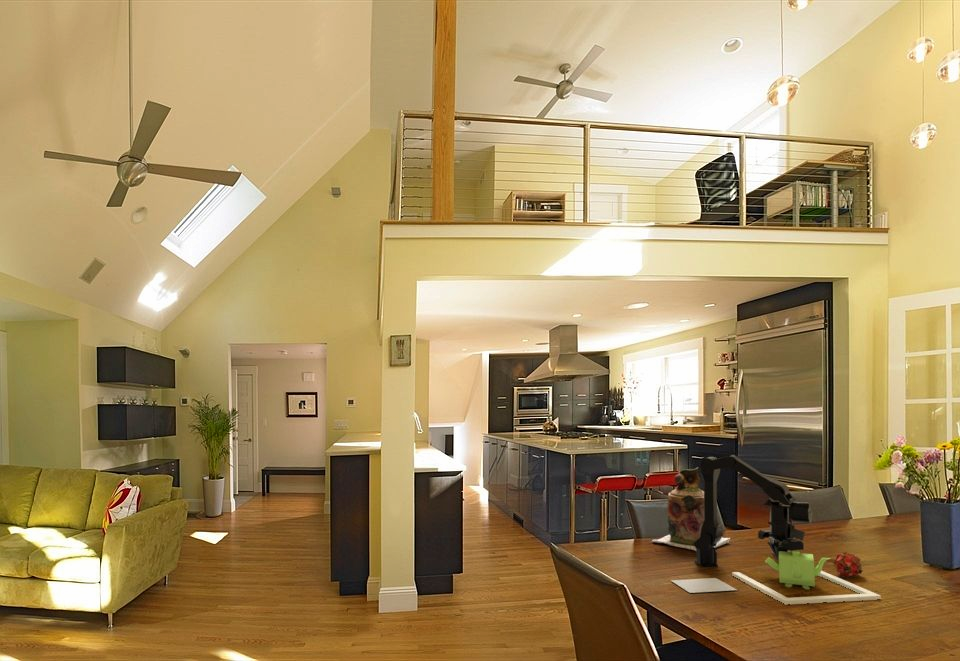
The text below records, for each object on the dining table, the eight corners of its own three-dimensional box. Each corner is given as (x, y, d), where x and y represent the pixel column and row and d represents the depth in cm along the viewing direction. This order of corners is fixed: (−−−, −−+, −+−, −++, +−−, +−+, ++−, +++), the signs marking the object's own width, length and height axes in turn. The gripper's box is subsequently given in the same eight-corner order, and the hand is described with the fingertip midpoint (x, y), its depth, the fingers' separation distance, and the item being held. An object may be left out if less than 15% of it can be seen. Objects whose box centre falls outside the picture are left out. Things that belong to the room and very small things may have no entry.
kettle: (832, 588, 220) (830, 554, 220) (800, 594, 214) (798, 559, 215) (795, 576, 233) (793, 543, 234) (764, 581, 228) (762, 548, 229)
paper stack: (754, 601, 208) (754, 599, 208) (679, 606, 204) (679, 603, 204) (715, 579, 231) (715, 577, 231) (647, 583, 227) (647, 581, 227)
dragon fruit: (851, 576, 240) (850, 589, 229) (829, 559, 243) (827, 572, 233) (866, 559, 237) (866, 572, 227) (844, 543, 240) (842, 555, 230)
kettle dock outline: (785, 604, 204) (785, 600, 204) (732, 575, 235) (732, 572, 235) (880, 599, 209) (880, 595, 209) (816, 571, 240) (816, 568, 240)
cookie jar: (680, 534, 300) (678, 462, 303) (732, 543, 283) (730, 467, 285) (649, 543, 284) (648, 467, 286) (703, 553, 266) (701, 472, 268)
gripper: (817, 524, 227) (819, 571, 226) (784, 513, 245) (786, 556, 244) (787, 525, 225) (789, 572, 224) (756, 514, 243) (757, 557, 242)
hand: (781, 564), depth 234 cm, fingers closed
